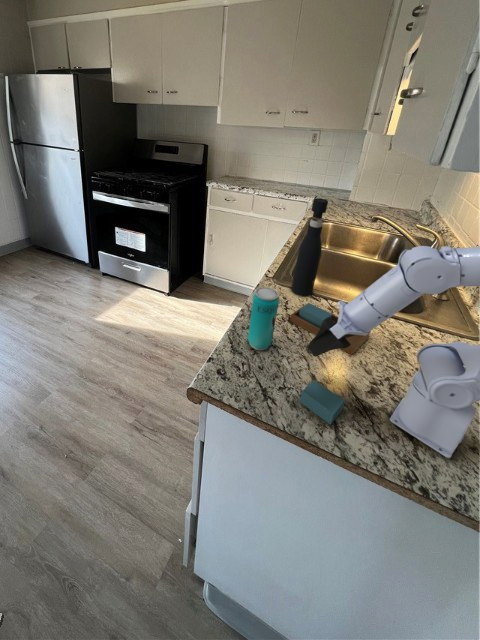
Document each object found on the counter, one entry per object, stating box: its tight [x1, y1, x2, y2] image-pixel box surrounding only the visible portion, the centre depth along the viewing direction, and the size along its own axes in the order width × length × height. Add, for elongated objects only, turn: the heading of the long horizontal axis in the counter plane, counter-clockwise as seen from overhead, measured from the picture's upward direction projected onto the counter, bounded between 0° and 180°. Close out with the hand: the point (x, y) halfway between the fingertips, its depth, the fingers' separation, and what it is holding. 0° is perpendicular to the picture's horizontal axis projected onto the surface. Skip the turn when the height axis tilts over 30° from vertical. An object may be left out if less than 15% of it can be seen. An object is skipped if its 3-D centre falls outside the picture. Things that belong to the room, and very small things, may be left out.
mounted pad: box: [299, 302, 333, 328], centre depth 85 cm, size 7×4×3 cm, turn 41°
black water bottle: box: [291, 197, 329, 297], centre depth 94 cm, size 6×6×30 cm
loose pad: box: [299, 379, 346, 425], centre depth 61 cm, size 6×4×3 cm
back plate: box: [289, 304, 371, 356], centre depth 83 cm, size 17×9×2 cm, turn 41°
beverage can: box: [247, 286, 280, 351], centre depth 74 cm, size 6×6×15 cm
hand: (319, 345), depth 61 cm, fingers open, 7 cm apart
